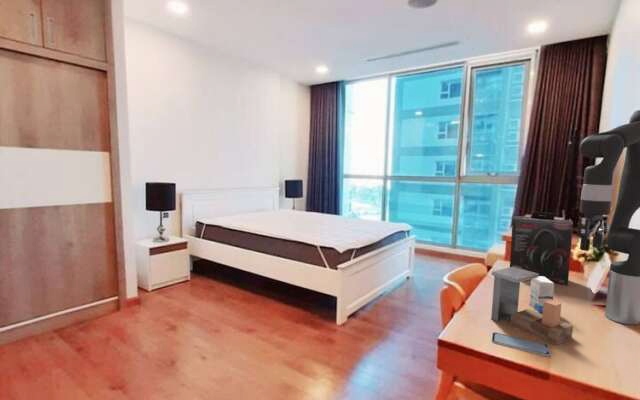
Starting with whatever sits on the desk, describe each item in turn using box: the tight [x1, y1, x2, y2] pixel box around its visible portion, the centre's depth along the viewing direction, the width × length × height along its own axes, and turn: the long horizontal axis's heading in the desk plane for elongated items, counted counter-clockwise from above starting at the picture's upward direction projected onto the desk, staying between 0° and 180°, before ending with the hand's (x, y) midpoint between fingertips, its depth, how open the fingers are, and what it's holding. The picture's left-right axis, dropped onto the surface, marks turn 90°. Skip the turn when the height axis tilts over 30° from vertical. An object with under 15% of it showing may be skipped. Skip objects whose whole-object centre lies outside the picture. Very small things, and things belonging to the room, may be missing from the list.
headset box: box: [509, 211, 574, 286], centre depth 164 cm, size 25×12×33 cm, turn 54°
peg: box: [541, 300, 562, 328], centre depth 107 cm, size 4×4×11 cm
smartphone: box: [490, 332, 551, 357], centre depth 101 cm, size 7×1×15 cm
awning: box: [490, 266, 539, 323], centre depth 117 cm, size 13×9×17 cm
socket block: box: [509, 308, 574, 346], centre depth 109 cm, size 10×14×4 cm
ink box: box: [528, 276, 555, 314], centre depth 128 cm, size 9×5×12 cm, turn 168°
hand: (590, 249), depth 107 cm, fingers open, 8 cm apart
